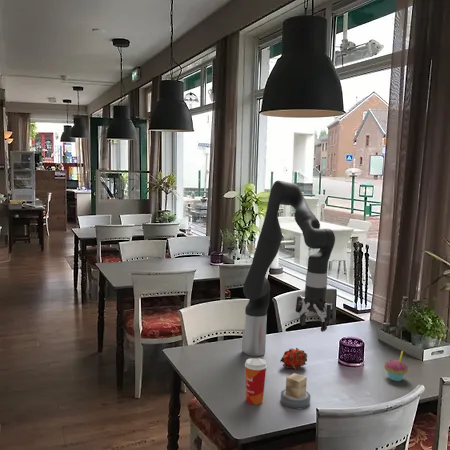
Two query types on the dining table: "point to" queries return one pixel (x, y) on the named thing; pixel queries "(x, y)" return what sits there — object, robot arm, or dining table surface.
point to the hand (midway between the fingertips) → (312, 327)
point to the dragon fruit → (294, 358)
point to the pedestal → (295, 400)
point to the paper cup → (255, 380)
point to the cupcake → (396, 369)
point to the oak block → (296, 385)
